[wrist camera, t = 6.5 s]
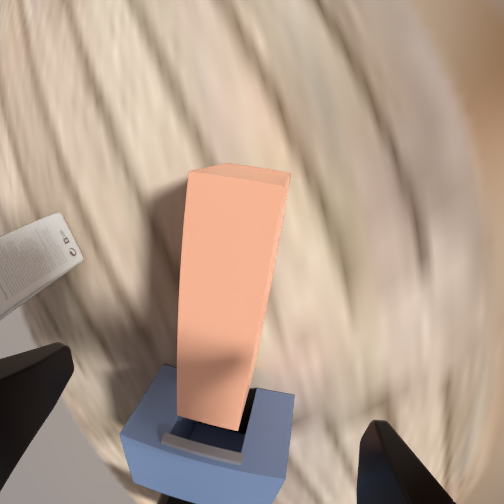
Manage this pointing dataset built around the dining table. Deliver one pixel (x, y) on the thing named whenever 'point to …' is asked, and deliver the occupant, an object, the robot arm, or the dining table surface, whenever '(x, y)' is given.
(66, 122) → the dining table surface
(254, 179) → the salmon pink prism
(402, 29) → the dining table surface
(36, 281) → the skincare box
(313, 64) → the dining table surface
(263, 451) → the block
